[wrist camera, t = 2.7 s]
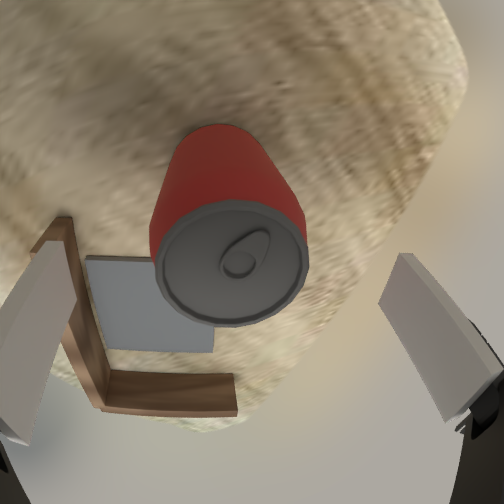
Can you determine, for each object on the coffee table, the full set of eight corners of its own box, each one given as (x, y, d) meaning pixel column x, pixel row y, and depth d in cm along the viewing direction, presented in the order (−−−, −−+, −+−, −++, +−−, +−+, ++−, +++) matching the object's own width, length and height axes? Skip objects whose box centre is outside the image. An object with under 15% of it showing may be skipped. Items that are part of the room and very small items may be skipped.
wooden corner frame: (55, 217, 21) (29, 252, 16) (254, 222, 23) (265, 259, 19) (101, 375, 32) (95, 410, 28) (232, 380, 35) (236, 416, 30)
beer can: (284, 156, 21) (358, 248, 11) (230, 226, 23) (253, 354, 14) (204, 104, 18) (203, 145, 8) (153, 183, 21) (113, 299, 11)
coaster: (86, 255, 23) (84, 259, 22) (217, 259, 25) (218, 264, 24) (108, 344, 29) (107, 348, 28) (212, 348, 31) (212, 352, 30)
